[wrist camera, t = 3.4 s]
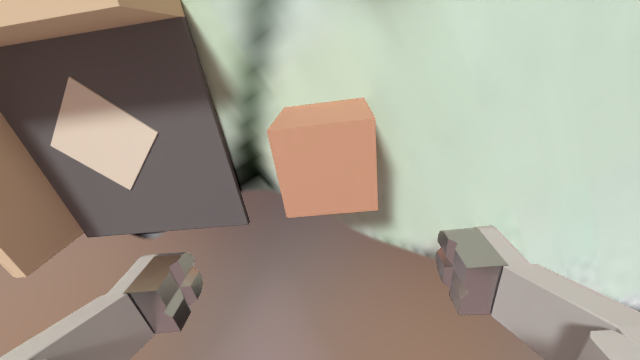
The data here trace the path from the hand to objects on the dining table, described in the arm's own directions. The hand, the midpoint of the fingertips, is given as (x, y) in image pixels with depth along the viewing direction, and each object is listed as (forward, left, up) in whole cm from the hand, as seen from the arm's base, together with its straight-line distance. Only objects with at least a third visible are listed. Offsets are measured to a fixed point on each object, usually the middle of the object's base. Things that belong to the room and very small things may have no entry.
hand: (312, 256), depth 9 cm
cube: (0, 0, -10) cm, 10 cm away
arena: (+14, -1, -10) cm, 17 cm away
